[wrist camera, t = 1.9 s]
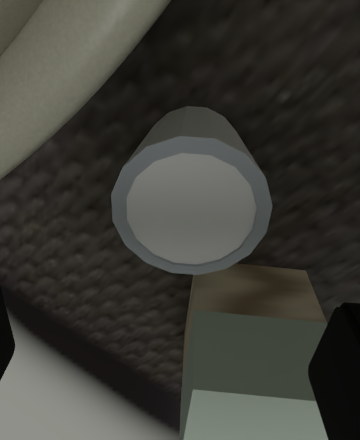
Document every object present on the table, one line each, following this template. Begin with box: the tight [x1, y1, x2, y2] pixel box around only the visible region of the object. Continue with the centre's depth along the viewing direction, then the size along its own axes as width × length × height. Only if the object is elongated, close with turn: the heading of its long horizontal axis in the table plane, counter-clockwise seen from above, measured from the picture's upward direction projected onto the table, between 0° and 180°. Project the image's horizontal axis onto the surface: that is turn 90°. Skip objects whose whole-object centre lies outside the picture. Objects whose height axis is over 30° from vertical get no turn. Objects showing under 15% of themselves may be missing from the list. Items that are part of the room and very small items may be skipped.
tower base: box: [183, 263, 327, 377], centre depth 25 cm, size 8×8×5 cm
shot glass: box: [111, 106, 273, 275], centre depth 17 cm, size 7×7×7 cm
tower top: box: [180, 310, 328, 440], centre depth 21 cm, size 8×8×5 cm
